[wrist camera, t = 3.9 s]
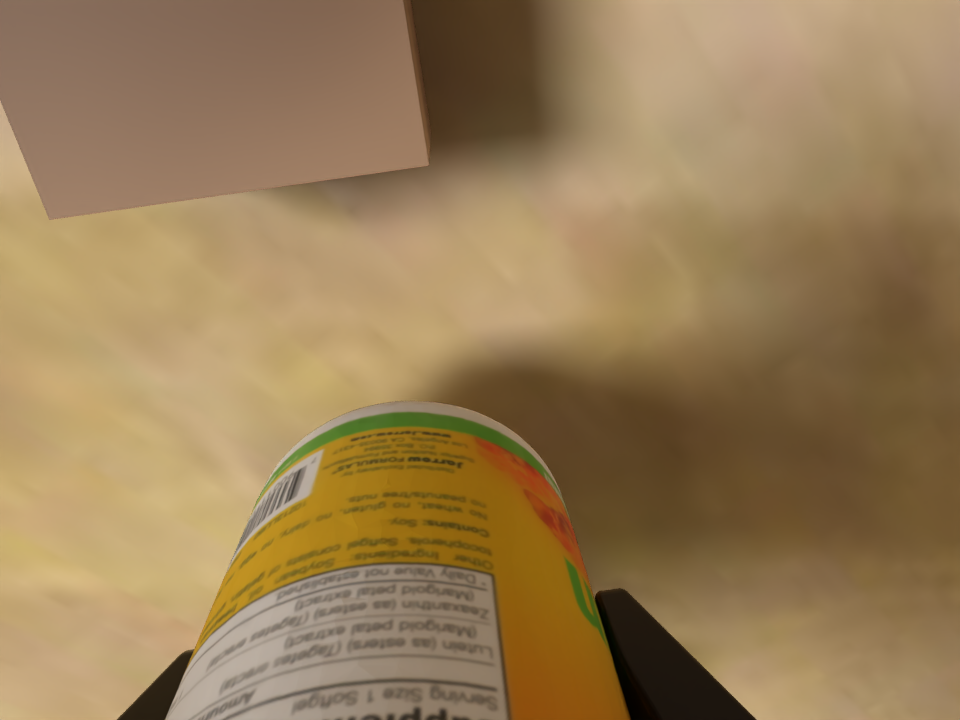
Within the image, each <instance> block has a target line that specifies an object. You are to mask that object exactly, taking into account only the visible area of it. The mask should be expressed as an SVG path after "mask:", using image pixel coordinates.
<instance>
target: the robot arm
mask: <svg viewBox="0 0 960 720" xmlns="http://www.w3.org/2000/svg"><path fill="white" fill-rule="evenodd" d="M595 602H596V606H597V609H598V612H599V615H600V619H601V622H602V625H603V628H604V632H605V635H606V638H607V642H608V645H609V648H610V652H611V655H612V658H613V661H614V665H615V668H616V671H617V675H618V678H619V681H620V684H621V688H622V691H623V694H624V697H625V701H626V704H627V707H628V711H629V714H630V717H631V720H756V719H755V718H754V717H753V716H752V715H751V714H750V713H749V712H748V711H747V710H746V709H745V708H744V707H743V706H742V705H741V704H740V703H739V702H738V701H737V700H736V699H735V698H734V697H733V696H732V695H731V694H730V693H729V692H728V691H727V690H726V689H725V688H724V687H723V686H722V685H721V684H720V683H719V682H718V681H717V680H716V679H715V678H714V677H713V676H712V675H711V674H710V673H709V672H708V671H707V670H706V669H705V668H704V667H703V666H702V665H701V664H700V663H699V662H698V661H697V660H696V659H695V658H694V657H693V656H692V655H691V654H690V653H689V652H688V651H687V650H686V649H685V648H684V647H683V646H682V645H681V644H680V643H679V642H678V641H677V640H676V639H675V638H674V637H673V636H672V635H671V634H670V633H668V632H667V631H666V630H665V629H664V628H663V627H662V626H661V625H660V624H659V623H658V622H657V621H656V620H655V619H654V618H653V617H652V616H651V615H650V614H649V613H648V612H647V611H646V610H645V609H644V608H643V607H642V606H641V605H640V604H639V603H638V602H637V601H636V600H635V599H634V598H633V597H632V596H631V595H630V594H629V593H628V592H627V591H626V590H624V589H621V588H619V589H612V590H605V591H599V592H598V593H597V594H596V596H595ZM193 651H194V649H193V650H187V651H185V652H183V653H182V654H181V655H179V656H178V657H177V658H176V659H175V660H174V661H173V663H172V664H171V665H170V666H169V667H168V668H167V669H166V670H165V671H164V672H163V673H162V674H161V675H160V676H159V677H158V678H157V679H156V680H155V681H154V682H153V683H152V684H151V685H150V686H149V687H148V688H147V689H146V690H145V691H144V692H143V693H142V694H141V695H140V696H139V697H138V698H137V700H136V701H135V702H134V703H133V704H132V705H131V706H130V707H129V708H128V709H127V710H126V711H125V712H124V713H123V714H122V715H121V716H120V717H119V718H118V719H117V720H165V719H166V716H167V714H168V712H169V709H170V707H171V705H172V702H173V700H174V698H175V695H176V693H177V690H178V688H179V685H180V683H181V680H182V678H183V676H184V673H185V671H186V668H187V666H188V663H189V661H190V658H191V656H192V654H193Z"/></svg>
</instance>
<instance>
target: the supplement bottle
mask: <svg viewBox="0 0 960 720" xmlns="http://www.w3.org/2000/svg"><path fill="white" fill-rule="evenodd" d="M165 720H631V717H630V714H629V711H628V707H627V704H626V701H625V697H624V694H623V691H622V688H621V684H620V681H619V678H618V675H617V671H616V668H615V665H614V661H613V658H612V655H611V652H610V648H609V645H608V642H607V638H606V635H605V632H604V628H603V625H602V622H601V619H600V615H599V612H598V609H597V606H596V602H595V599H594V596H593V593H592V589H591V586H590V583H589V579H588V576H587V573H586V569H585V566H584V563H583V560H582V557H581V553H580V550H579V547H578V544H577V541H576V537H575V534H574V531H573V528H572V524H571V520H570V517H569V514H568V511H567V508H566V505H565V503H564V500H563V498H562V495H561V492H560V490H559V487H558V485H557V483H556V481H555V479H554V477H553V475H552V473H551V472H550V470H549V468H548V467H547V465H546V464H545V463H544V461H543V460H542V459H541V457H540V456H539V455H538V454H537V453H536V452H535V450H534V449H533V448H532V447H531V446H530V445H529V444H528V443H526V442H525V441H524V440H523V439H522V438H521V437H520V436H519V435H517V434H516V433H515V432H513V431H512V430H510V429H509V428H507V427H506V426H504V425H503V424H501V423H499V422H497V421H495V420H493V419H491V418H489V417H487V416H485V415H483V414H480V413H478V412H475V411H472V410H469V409H466V408H463V407H459V406H455V405H450V404H444V403H438V402H428V401H395V402H388V403H381V404H376V405H372V406H368V407H363V408H359V409H356V410H353V411H350V412H348V413H346V414H343V415H341V416H339V417H337V418H335V419H333V420H330V421H328V422H327V423H325V424H324V425H322V426H320V427H319V428H317V429H315V430H314V431H312V432H311V433H310V434H308V435H307V436H306V437H304V438H303V439H302V440H301V441H299V442H298V443H297V444H296V445H295V446H294V447H293V448H292V449H291V450H290V451H289V452H288V453H287V454H286V455H285V456H284V457H283V459H282V460H281V461H280V462H279V464H278V465H277V466H276V468H275V469H274V471H273V472H272V474H271V476H270V477H269V479H268V481H267V482H266V484H265V486H264V489H263V491H262V493H261V494H260V496H259V498H258V500H257V502H256V504H255V507H254V509H253V511H252V513H251V516H250V518H249V520H248V523H247V525H246V527H245V530H244V532H243V535H242V537H241V539H240V541H239V544H238V546H237V549H236V551H235V553H234V556H233V558H232V560H231V563H230V565H229V567H228V570H227V573H226V575H225V577H224V579H223V582H222V584H221V587H220V589H219V591H218V594H217V596H216V599H215V601H214V604H213V606H212V608H211V611H210V613H209V616H208V618H207V620H206V623H205V625H204V628H203V630H202V632H201V635H200V637H199V640H198V642H197V644H196V647H195V649H194V651H193V654H192V656H191V658H190V661H189V663H188V666H187V668H186V671H185V673H184V676H183V678H182V680H181V683H180V685H179V688H178V690H177V693H176V695H175V698H174V700H173V702H172V705H171V707H170V709H169V712H168V714H167V716H166V719H165Z"/></svg>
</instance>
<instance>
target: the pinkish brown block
mask: <svg viewBox="0 0 960 720" xmlns="http://www.w3.org/2000/svg"><path fill="white" fill-rule="evenodd" d="M0 101H1V103H2V106H3V108H4V110H5V113H6V115H7V118H8V120H9V123H10V125H11V127H12V130H13V132H14V135H15V137H16V140H17V142H18V144H19V147H20V149H21V152H22V154H23V157H24V159H25V161H26V164H27V166H28V169H29V171H30V174H31V176H32V179H33V181H34V183H35V186H36V188H37V191H38V193H39V196H40V198H41V200H42V203H43V205H44V208H45V210H46V213H47V215H48V217H49V220H51V219H58V218H65V217H72V216H79V215H86V214H93V213H100V212H107V211H114V210H121V209H128V208H135V207H142V206H149V205H156V204H163V203H171V202H178V201H185V200H192V199H199V198H206V197H213V196H220V195H227V194H234V193H241V192H248V191H255V190H262V189H269V188H276V187H283V186H290V185H297V184H304V183H311V182H318V181H325V180H332V179H339V178H346V177H353V176H360V175H367V174H374V173H381V172H388V171H395V170H402V169H409V168H416V167H423V166H429V159H430V147H431V128H430V121H429V115H428V108H427V102H426V95H425V89H424V82H423V75H422V69H421V62H420V56H419V49H418V43H417V36H416V29H415V23H414V16H413V10H412V3H411V0H0Z"/></svg>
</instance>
